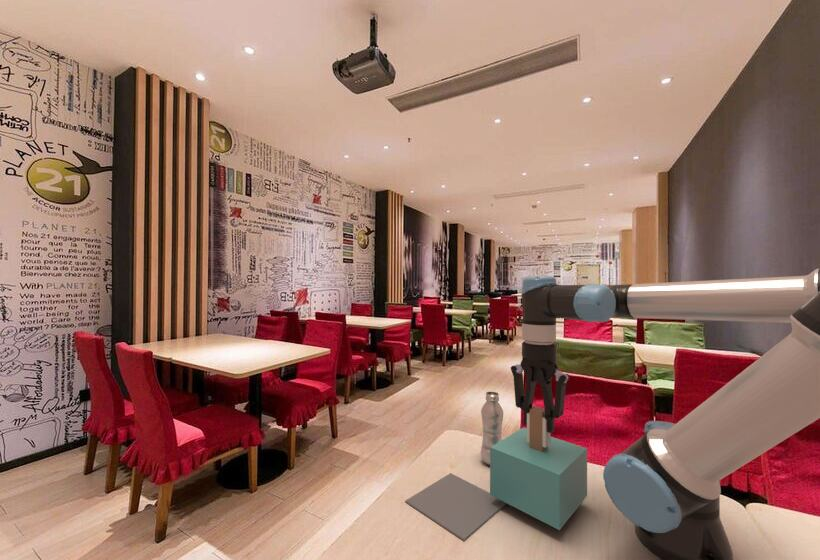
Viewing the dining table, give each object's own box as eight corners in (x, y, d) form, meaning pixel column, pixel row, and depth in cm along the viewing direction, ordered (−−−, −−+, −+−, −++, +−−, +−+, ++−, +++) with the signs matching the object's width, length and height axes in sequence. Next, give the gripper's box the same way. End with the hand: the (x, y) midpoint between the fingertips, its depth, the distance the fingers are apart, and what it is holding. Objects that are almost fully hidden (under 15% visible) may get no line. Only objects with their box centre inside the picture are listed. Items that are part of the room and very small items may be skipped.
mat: (507, 503, 80) (507, 501, 80) (463, 541, 68) (463, 539, 68) (450, 474, 92) (450, 473, 92) (405, 502, 80) (405, 500, 80)
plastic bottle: (503, 458, 101) (503, 390, 101) (504, 470, 94) (504, 398, 94) (480, 455, 102) (481, 389, 103) (480, 467, 96) (480, 396, 96)
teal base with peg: (587, 495, 79) (587, 409, 79) (559, 530, 68) (559, 429, 68) (522, 469, 90) (523, 393, 91) (490, 494, 79) (490, 408, 80)
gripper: (580, 344, 77) (580, 449, 76) (515, 336, 88) (514, 427, 88) (567, 348, 71) (567, 461, 71) (499, 339, 83) (499, 436, 82)
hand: (538, 442), depth 79 cm, fingers closed on teal base with peg, 3 cm apart
